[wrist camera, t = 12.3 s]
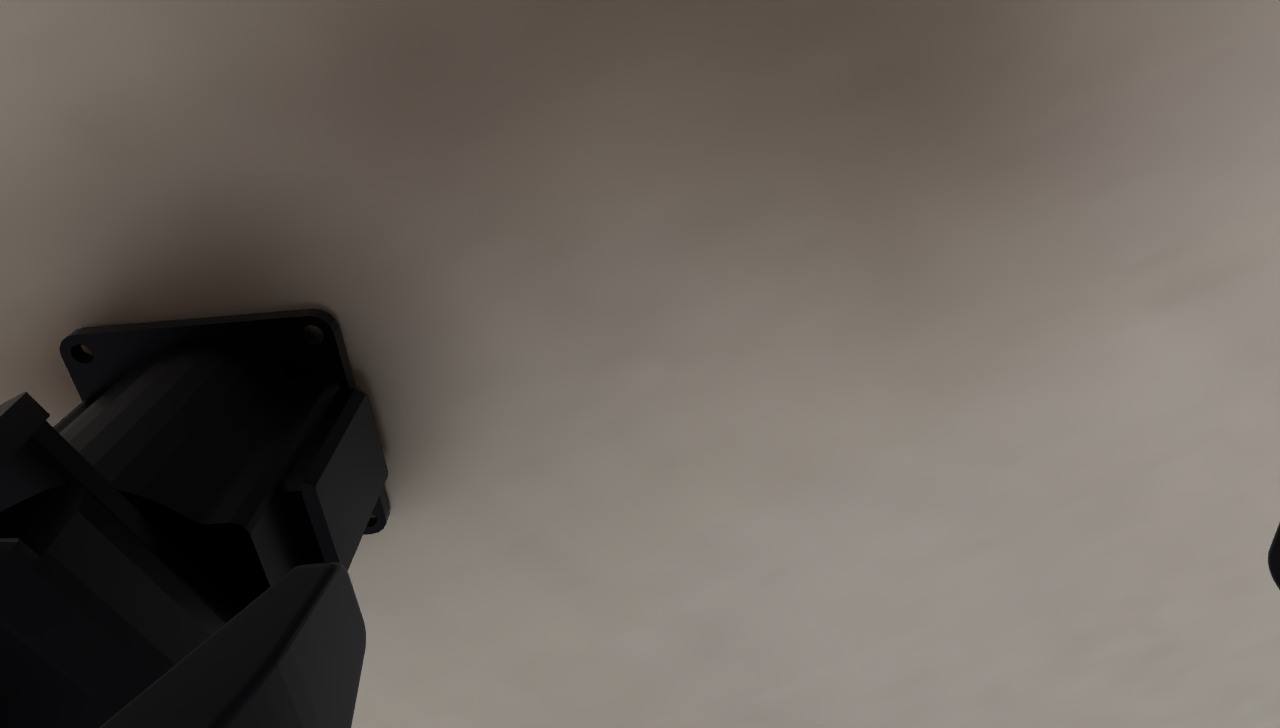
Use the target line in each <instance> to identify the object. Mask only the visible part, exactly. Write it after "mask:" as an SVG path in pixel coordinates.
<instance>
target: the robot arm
mask: <svg viewBox="0 0 1280 728" xmlns="http://www.w3.org/2000/svg"><path fill="white" fill-rule="evenodd" d="M309 325H312V326H316V327H318V328H319V329H321V331H322V332H323V334H324V337H322V338H320V337H315V336H313V335H312V334H310V332H309V330H308V326H309ZM81 345H85V346H86V347H88V348H90V350H91V351H92V352H93V355H89V354H87V353H86V352H84V350H83V349H82V348H81ZM60 353H61V356H62V358H63V361H64V363H65V365H66V367H67V369H68V371H69V373H70V376H71V378H72V380H73V382H74V384H75V386H76V388H77V391H78V393H79V395H80V397H81V399H82V401H83V402H82V403H81V404H80V405H78V406H77V407H76V408H75V409H74V410H73V411H71V412H70V413H69V414H68V415H67V416H66V417H64V418H63V419H62V420H61V421H60V422H59V423H58V424H56V425H55V426H54V427H52V426H51V425H50V424H49V423H48V422H47V421H46V419H47V418H48V417H49V416H50V414H49V413H47V412H46V411H45V410H44V409H43V408H42V407H41V406H40V405H39V404H38V403H37V402H36V401H35V400H34V399H33V398H32V397H31V396H30V395H29V394H28V393H27V392H24V393H22V394H20V395H18V396H16V397H14V398H12V399H11V400H9V401H7V402H5V403H3V404H2V405H0V728H351V725H352V720H353V714H354V709H355V703H356V698H357V692H358V687H359V681H360V676H361V670H362V665H363V659H364V654H365V647H366V630H365V624H364V620H363V617H362V614H361V611H360V608H359V605H358V602H357V599H356V596H355V593H354V589H353V586H352V583H351V580H350V577H349V574H348V572H347V571H348V569H349V566H350V564H351V562H352V559H353V557H354V555H355V552H356V550H357V547H358V545H359V543H360V540H361V538H362V536H363V535H364V534H373V533H377V532H379V531H381V530H382V529H384V527H385V525H386V523H387V520H388V517H389V515H390V508H389V505H388V501H387V497H386V494H385V490H384V487H383V486H384V484H385V481H386V479H387V476H388V469H387V465H386V462H385V458H384V454H383V451H382V447H381V443H380V440H379V436H378V432H377V429H376V425H375V421H374V418H373V414H372V410H371V406H370V403H369V399H368V396H367V394H366V393H364V392H363V391H362V390H361V389H360V388H359V387H356V386H355V382H354V379H353V375H352V371H351V368H350V364H349V361H348V357H347V353H346V350H345V346H344V343H343V339H342V335H341V332H340V328H339V325H338V323H337V321H336V319H335V318H334V317H332V316H331V315H330V314H329V313H327V312H325V311H323V310H318V309H307V310H294V311H282V312H270V313H258V314H246V315H233V316H221V317H209V318H197V319H185V320H172V321H160V322H148V323H136V324H123V325H111V326H99V327H87V328H81V329H77V330H75V331H74V332H73V333H71V334H70V335H68V336H67V337H66V338H65V339H64V340H63V341H62V342H61V344H60ZM371 514H374V515H375V516H376V517H371ZM1268 565H1269V570H1270V573H1271V575H1272V578H1273V580H1274V581H1275V583H1276V585H1277V586H1278V588H1279V590H1280V523H1279V526H1278V528H1277V531H1276V533H1275V536H1274V539H1273V541H1272V544H1271V547H1270V549H1269V553H1268Z"/></svg>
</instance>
